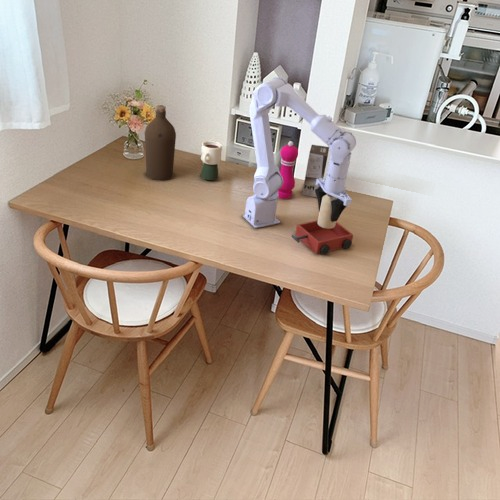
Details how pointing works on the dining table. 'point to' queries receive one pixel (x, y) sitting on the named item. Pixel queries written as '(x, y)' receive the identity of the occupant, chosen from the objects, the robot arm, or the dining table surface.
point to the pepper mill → (287, 170)
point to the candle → (326, 212)
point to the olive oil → (160, 146)
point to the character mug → (210, 159)
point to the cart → (322, 236)
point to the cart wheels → (325, 247)
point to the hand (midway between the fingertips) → (328, 216)
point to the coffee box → (315, 169)
